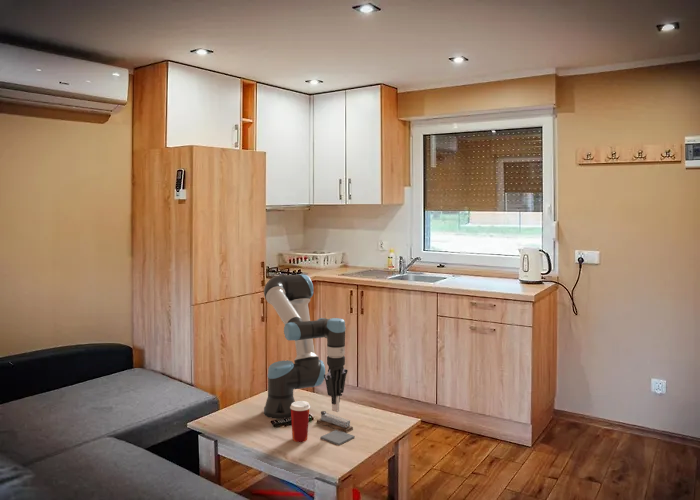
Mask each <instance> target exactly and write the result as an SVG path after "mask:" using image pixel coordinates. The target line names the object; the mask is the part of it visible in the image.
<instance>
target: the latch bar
mask: <svg viewBox="0 0 700 500" xmlns="http://www.w3.org/2000/svg"><path fill="white" fill-rule="evenodd" d="M320 418H321V420H323V421H326V422H329V423H332V424H335V425H338V426H341V427H344V428H347V427H349V426H351V420H349V419H347V418H344V417H340V416H338V415H335V414H332V413H329V412H327V411H326V410H322V411H320Z"/></svg>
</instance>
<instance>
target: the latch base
mask: <svg viewBox="0 0 700 500" xmlns="http://www.w3.org/2000/svg"><path fill="white" fill-rule="evenodd" d="M316 423H317V424H320V425H323V426H325V427H326V426H327V427H328V428H332V429H335V430H339V431H342V432H345V433H347V434H348V432H350V431H352V430H353V431H354V429H353V428H354V427H353V426H352V425H350V426H349V427H347V428H344V427H341V426H338V425H335V424H332V423H329V422H326V421H323V420H321V417H319V418H317V419H316Z"/></svg>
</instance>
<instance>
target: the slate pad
mask: <svg viewBox="0 0 700 500" xmlns="http://www.w3.org/2000/svg"><path fill="white" fill-rule="evenodd" d="M353 439H355V435H353V434H351V433H350V434H349V433H348V432H347V433H346V432H343V431H340V430H337V429H335V430H332V431H330V432H328V433H325V434H323V435H322V436H320V440H323V441H326V442H328V443H331V444H334V445H337V446H341V445H343V444H345V443H347V442H349V441H351V440H353Z"/></svg>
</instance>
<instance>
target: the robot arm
mask: <svg viewBox="0 0 700 500" xmlns="http://www.w3.org/2000/svg"><path fill="white" fill-rule="evenodd" d="M313 295H314V284H313V282H312V280H311V277H310V276H308V275H307V274H301V273H298V274H285V275H284V274H283V275H281V274H280V275H276V276H273V277H271V278H269V280H267V282H266V283H265V286H264V288H263V296H264V298H265V301H266V302H267V303H268V304H269V305H271V306H272V307H273V309H274V310H275V313H277V315H278V317H279V318H280V320H281V322H283V325H284V326H283V334H284V337H285V339H286V340H287V341H294V344H295V351H296V357H295V358H294V362H293V361H292V360H287V359H285V360H284V359H283V360H278V361H275V362H273V363H271V364H270V365H269V366H268V369H267V398H266V401H265V405H264V407H263V414H264V416H265V417H267V418H270V419H279V420H280V419H281V420H283V418H284V419H288V418H289V417H290V418H291V408H290V406H291V404H292V403H293V402H296V401H295V400H296V399H295V397H294V390H299V389H307V388H315V387H319V386H321V385H322V384H323V383H324V380H325V386H326V390H327V391H326V392H327V396H329V397H331V411H332V412H336V413H338V412H340V402H341V396H343V393H344V390H345V385H346V377H347V374H348V369H346V368H345V367H344V366H345V364H346V357H345V355H346V321H345V320H344V319H343V318H339V317H332V318H331V317H330V318H327V317H325V318H324V317H321V318H318V319H316V320H311V317H310V309H309V303H310V302H311V298H312V297H313ZM321 338H323V339H324V338H325V339H326V355H327V356H326V365H327V366H328V368H327V373H326V367H325V364H324V363H325V362H324V361H323V360H321V359H320V357H319V355H318V354H316V351H315V346H314V339H321Z"/></svg>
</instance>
